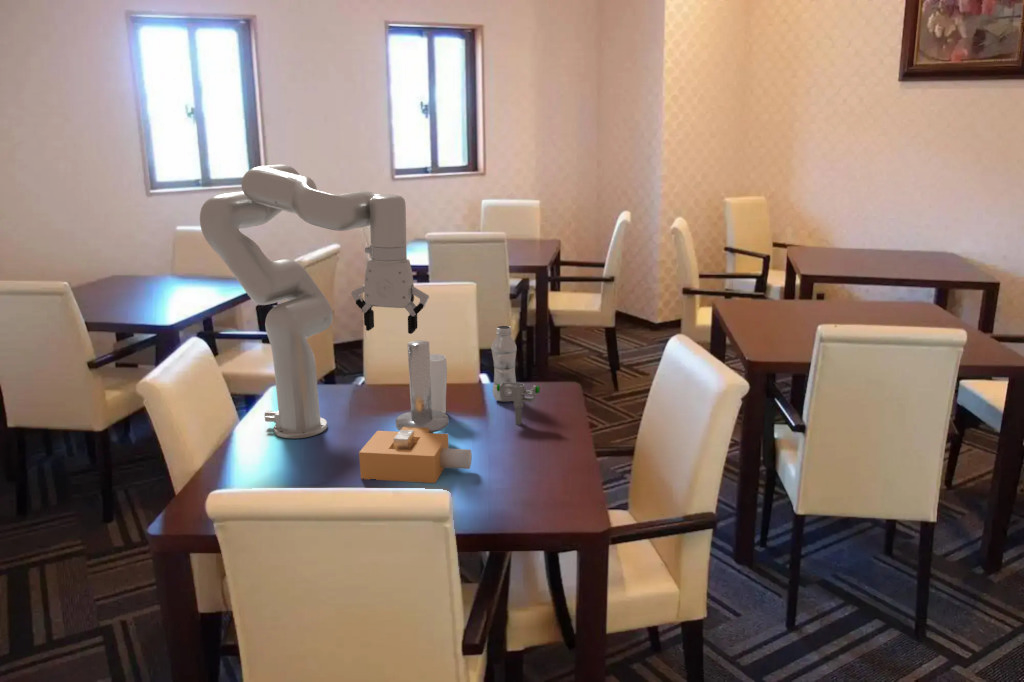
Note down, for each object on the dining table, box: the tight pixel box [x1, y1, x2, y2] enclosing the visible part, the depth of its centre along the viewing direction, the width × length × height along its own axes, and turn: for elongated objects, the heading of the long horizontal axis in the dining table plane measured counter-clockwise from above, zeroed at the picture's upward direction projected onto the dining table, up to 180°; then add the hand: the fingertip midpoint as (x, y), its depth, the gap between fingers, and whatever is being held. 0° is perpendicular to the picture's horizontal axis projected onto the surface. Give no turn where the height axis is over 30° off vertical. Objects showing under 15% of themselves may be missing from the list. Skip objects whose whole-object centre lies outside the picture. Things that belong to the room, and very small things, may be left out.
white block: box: [394, 430, 415, 450], centre depth 171 cm, size 3×5×8 cm, turn 171°
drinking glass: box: [430, 353, 448, 414], centre depth 202 cm, size 7×7×15 cm
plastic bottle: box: [490, 325, 517, 403], centre depth 210 cm, size 6×7×20 cm
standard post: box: [395, 340, 450, 433], centre depth 182 cm, size 12×12×24 cm
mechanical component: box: [497, 382, 541, 426], centre depth 195 cm, size 3×10×10 cm, turn 78°
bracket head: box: [358, 427, 473, 484], centre depth 173 cm, size 22×15×6 cm
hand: (390, 330), depth 177 cm, fingers open, 9 cm apart
